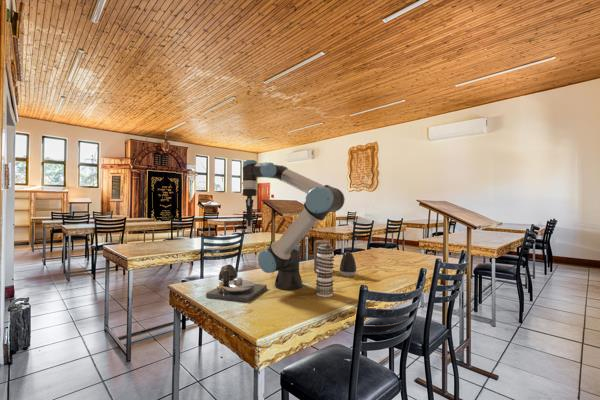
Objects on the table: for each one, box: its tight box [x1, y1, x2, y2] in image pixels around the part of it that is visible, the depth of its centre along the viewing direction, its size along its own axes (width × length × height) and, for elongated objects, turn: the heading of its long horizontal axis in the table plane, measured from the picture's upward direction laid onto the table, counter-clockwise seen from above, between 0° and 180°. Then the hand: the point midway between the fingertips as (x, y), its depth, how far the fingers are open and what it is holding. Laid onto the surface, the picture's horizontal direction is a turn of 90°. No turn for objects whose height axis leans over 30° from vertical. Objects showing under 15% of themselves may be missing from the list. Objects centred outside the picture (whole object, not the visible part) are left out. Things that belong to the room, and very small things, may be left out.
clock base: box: [205, 281, 268, 303], centre depth 149 cm, size 22×22×7 cm
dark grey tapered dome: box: [339, 251, 357, 278], centre depth 185 cm, size 10×10×15 cm
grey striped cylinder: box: [313, 239, 331, 273], centre depth 197 cm, size 10×10×20 cm
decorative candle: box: [315, 243, 335, 298], centre depth 148 cm, size 9×9×25 cm
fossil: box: [218, 263, 239, 281], centre depth 176 cm, size 11×9×10 cm
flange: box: [215, 270, 255, 292], centre depth 149 cm, size 18×16×9 cm
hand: (249, 232), depth 161 cm, fingers closed
